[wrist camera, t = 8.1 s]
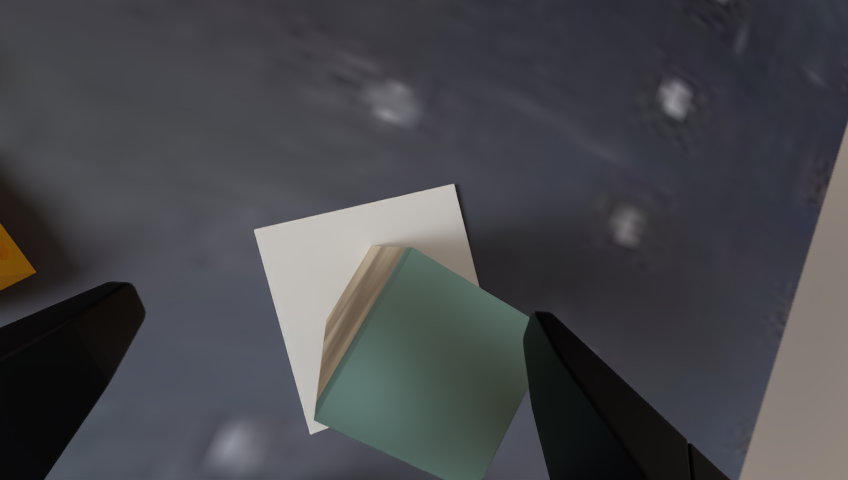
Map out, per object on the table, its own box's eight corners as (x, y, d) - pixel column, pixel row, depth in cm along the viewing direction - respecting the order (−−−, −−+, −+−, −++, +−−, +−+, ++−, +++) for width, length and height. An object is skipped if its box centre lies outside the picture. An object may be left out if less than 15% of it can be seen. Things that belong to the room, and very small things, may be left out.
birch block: (399, 359, 22) (475, 494, 10) (326, 320, 21) (313, 420, 9) (440, 286, 22) (555, 332, 11) (370, 245, 21) (413, 247, 10)
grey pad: (494, 362, 24) (498, 364, 23) (310, 430, 21) (310, 434, 20) (451, 185, 23) (453, 183, 23) (255, 230, 20) (253, 229, 20)
